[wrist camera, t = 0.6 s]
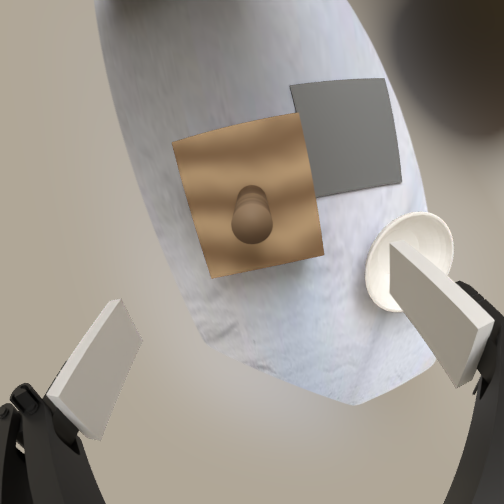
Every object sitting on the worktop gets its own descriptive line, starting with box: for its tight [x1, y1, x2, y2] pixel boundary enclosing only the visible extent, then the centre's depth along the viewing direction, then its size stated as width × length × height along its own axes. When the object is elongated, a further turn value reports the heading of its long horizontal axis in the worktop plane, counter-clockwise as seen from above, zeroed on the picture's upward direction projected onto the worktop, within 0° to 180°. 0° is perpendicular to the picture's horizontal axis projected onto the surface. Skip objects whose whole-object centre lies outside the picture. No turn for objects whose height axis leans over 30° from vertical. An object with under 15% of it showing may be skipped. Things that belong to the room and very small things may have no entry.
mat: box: [290, 78, 402, 197], centre depth 41 cm, size 19×17×1 cm
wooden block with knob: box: [172, 112, 324, 279], centre depth 34 cm, size 18×15×23 cm
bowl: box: [365, 212, 454, 312], centre depth 46 cm, size 20×20×7 cm
